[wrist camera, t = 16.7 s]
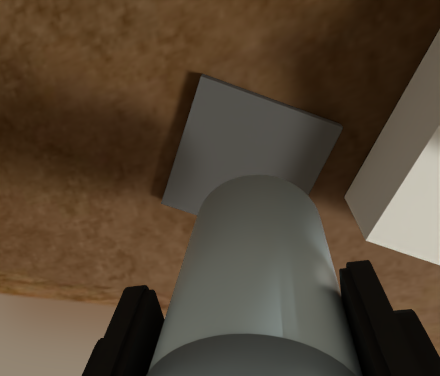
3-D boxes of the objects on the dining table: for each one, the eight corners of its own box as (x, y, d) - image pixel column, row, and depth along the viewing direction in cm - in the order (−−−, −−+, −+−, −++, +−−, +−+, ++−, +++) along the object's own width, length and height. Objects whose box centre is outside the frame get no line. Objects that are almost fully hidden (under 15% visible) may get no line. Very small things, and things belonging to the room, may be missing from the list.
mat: (163, 198, 21) (161, 203, 20) (202, 73, 18) (201, 75, 17) (282, 237, 21) (283, 243, 21) (340, 123, 18) (343, 127, 18)
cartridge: (181, 183, 14) (36, 497, 5) (316, 163, 13) (429, 500, 4) (209, 287, 16) (141, 646, 7) (328, 276, 15) (422, 668, 6)
